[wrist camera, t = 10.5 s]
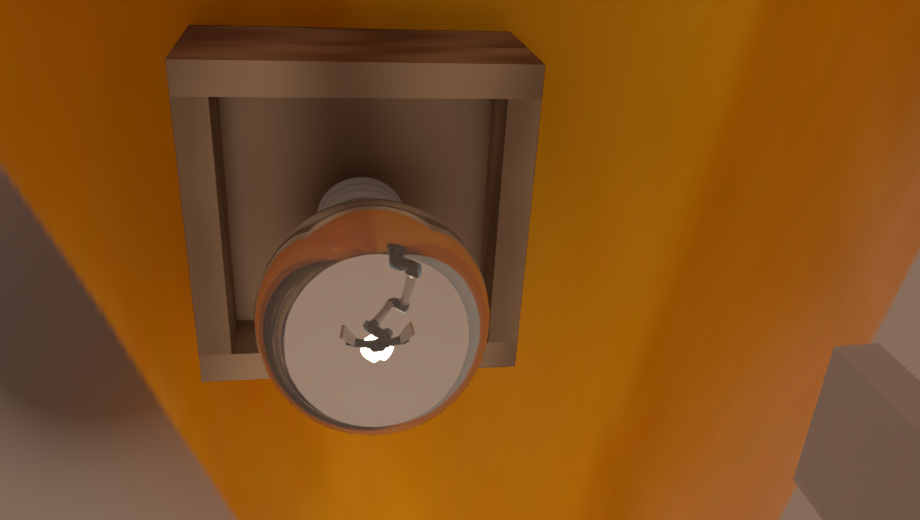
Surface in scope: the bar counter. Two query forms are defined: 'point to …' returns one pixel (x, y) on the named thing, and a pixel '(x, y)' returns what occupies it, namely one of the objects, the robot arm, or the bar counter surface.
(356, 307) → the light bulb
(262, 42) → the walnut box
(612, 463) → the bar counter surface
